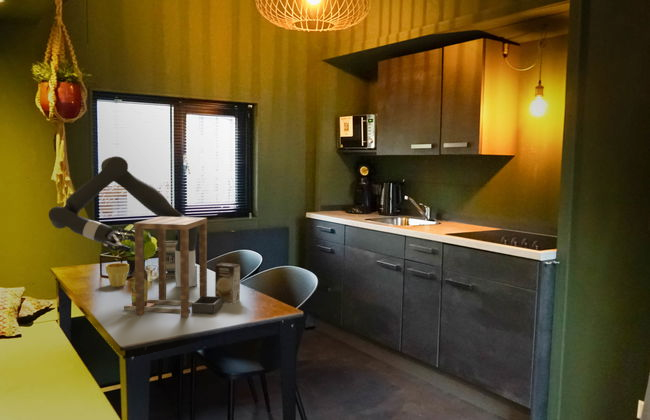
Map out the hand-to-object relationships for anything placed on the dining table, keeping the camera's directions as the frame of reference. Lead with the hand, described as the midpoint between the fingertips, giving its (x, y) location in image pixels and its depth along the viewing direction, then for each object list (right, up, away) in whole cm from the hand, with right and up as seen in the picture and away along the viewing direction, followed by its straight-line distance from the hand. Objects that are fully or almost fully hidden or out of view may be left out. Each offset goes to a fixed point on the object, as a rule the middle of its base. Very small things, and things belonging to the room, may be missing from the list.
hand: (135, 245), depth 228 cm
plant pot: (-20, -21, +35) cm, 46 cm away
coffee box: (+37, -25, +10) cm, 45 cm away
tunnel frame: (+13, -25, -2) cm, 28 cm away
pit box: (+31, -26, -4) cm, 41 cm away
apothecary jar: (-1, -20, +57) cm, 60 cm away
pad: (+3, -25, -1) cm, 25 cm away
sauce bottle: (+3, -25, -1) cm, 25 cm away
